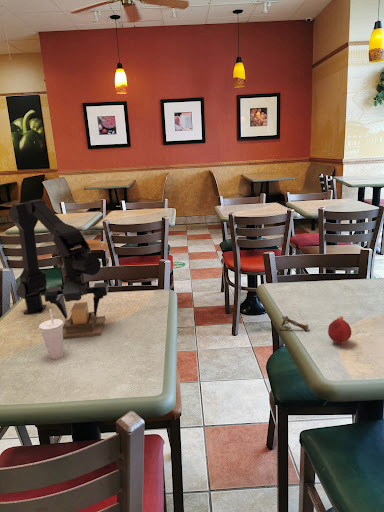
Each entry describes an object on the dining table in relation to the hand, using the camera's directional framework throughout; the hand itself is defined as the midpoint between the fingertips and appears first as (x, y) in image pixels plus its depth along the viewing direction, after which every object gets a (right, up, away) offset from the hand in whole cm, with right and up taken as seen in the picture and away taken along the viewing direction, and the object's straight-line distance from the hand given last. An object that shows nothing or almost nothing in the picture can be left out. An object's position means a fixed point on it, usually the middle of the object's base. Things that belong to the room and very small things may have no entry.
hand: (80, 316), depth 125 cm
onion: (+75, -4, -20) cm, 78 cm away
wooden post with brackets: (+65, -3, -10) cm, 66 cm away
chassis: (0, -4, +1) cm, 4 cm away
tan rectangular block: (0, -3, +1) cm, 3 cm away
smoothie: (-2, -9, -15) cm, 18 cm away
